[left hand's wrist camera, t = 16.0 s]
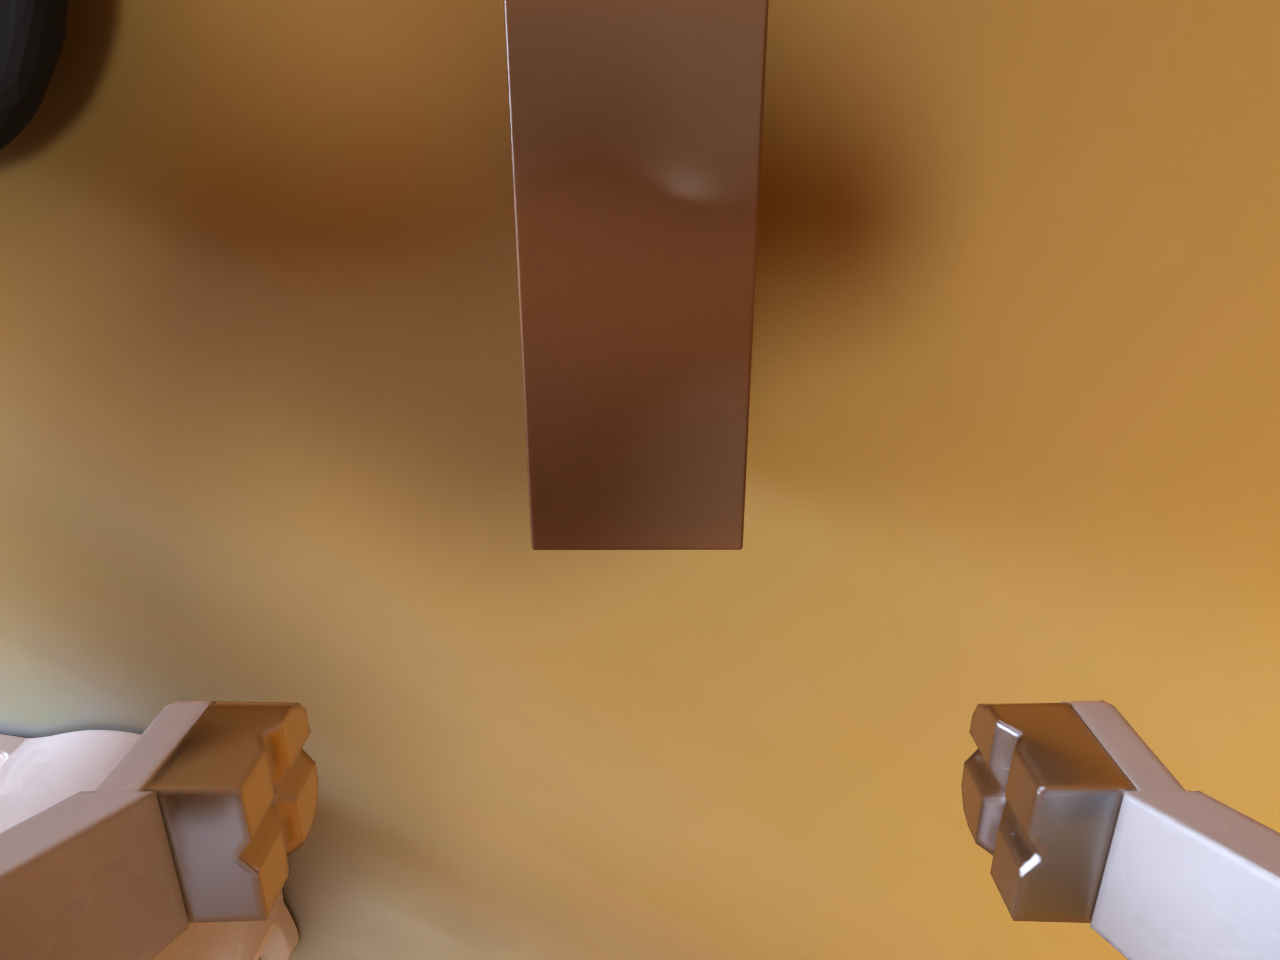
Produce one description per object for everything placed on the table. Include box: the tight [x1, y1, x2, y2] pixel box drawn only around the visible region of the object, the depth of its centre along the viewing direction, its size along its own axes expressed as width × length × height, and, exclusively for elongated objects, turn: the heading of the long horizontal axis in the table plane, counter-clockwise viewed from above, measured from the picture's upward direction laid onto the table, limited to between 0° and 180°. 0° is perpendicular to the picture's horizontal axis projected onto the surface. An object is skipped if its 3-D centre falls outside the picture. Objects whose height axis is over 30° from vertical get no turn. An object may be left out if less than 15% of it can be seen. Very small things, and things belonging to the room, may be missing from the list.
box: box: [504, 0, 769, 550], centre depth 26 cm, size 25×6×10 cm, turn 0°
